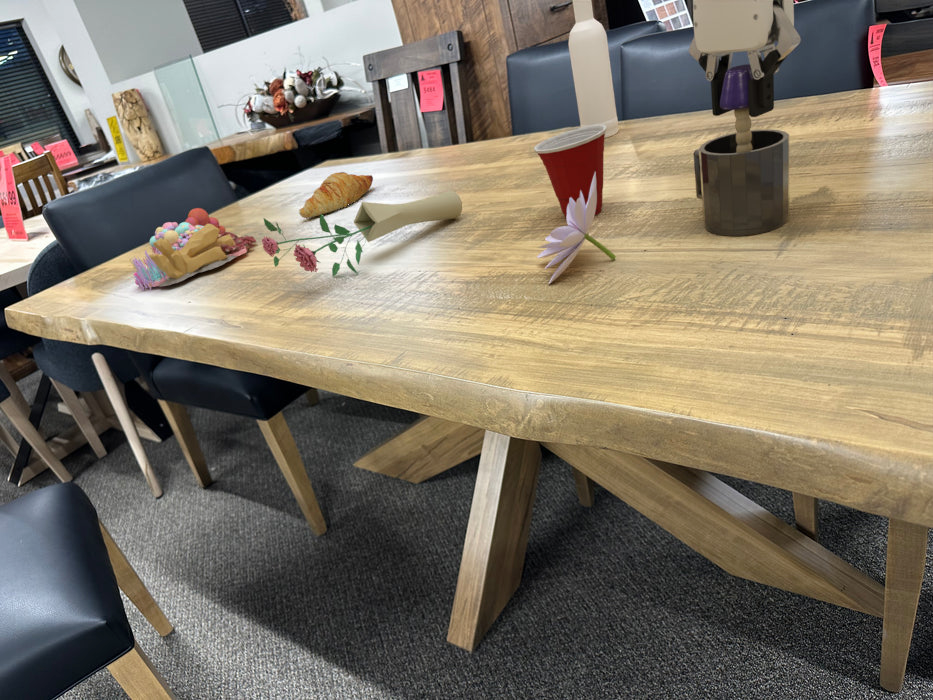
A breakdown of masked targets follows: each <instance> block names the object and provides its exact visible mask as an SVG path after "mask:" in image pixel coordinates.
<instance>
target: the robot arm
mask: <svg viewBox="0 0 933 700" xmlns="http://www.w3.org/2000/svg"><path fill="white" fill-rule="evenodd" d="M794 9H795V5H794V0H692V16H693V17H692V18H693V38H692V40H691V43H690V45H689V47H688V53H689V55H690V56H691V57H692V58H693V59H694V60H695V61H696V62H698V65H699V66H700V67H701V69H702V70H703V71H704V72H705V79H706V80H707V81H708V82H710V91H711V92H710V93H711V110H712V115H713V116H715V117H719V116H721V115H724V114H726V113H729V112H732V111H733V110H724V109H722V108H721V107H720V99H721V94H722V88H723V83H724V78H725V74H726V72H727V70H728V69H730V68H732V65H733V64H732V63H733V58H734V57H733V56H734V53H739V52H741V53H742V52H746V54H747V57H748V63H749V64H750V67H751V71H752V75H753V78H754V79H752V80H749V83H748V95H749V115H750V116H749V117H750V118H758V117H760V116H762V115H765V114H767V113H769V112H772V111H773V110H774V108H775V77H774V76H775V74H776V73H778V72H779V71H780V66H781V65H782V64H783V63H784V61H785V60H786V58H787V57H788V55H790V54H791V52H792V51H794V49H795V48H797V47H798V46H799V45H800V43H801V41H802V38H801V35H800V34H799V32H798V31H797V29H796V28H795V12H794V11H795V10H794ZM776 42H777V45H776ZM762 54H763V58H764V59H763V58H762Z"/></svg>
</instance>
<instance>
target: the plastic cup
mask: <svg viewBox="0 0 933 700" xmlns="http://www.w3.org/2000/svg"><path fill="white" fill-rule="evenodd" d="M606 127H607V126H604V125H592V126H587V127H582V128H581V127H578V128H574V129H571V130H568V131H565V132H561V133H558V134H556V135H554V136H551V137H549V138H547V139H544V140H542V141H541V142H539V143H538V144H536V145H535V146H534V148H533V151H534V153H536V154H537V155H538V156H539V158H540V160H541V161H542V164H543V166H544V167H545V170H546V172H547V176H548V178H549V181H550V183H551V186H552V188H553V191H554V194H555V197H556V198H557V201H558V203H559V206H560V209H561V212H562V214H563V215H564V218H566V216H567V206H568V204H569V199H570V197H571V198H572V199H573V200H574V201H575V202H576V201H577V199H578V198H579V197H580V190H581V192H582V194H583V197H584V200H585V205H586V204H587V201H588V198H589V192H590V187H591V183H592V179H593V176H594V173H595V172H596V190H597V204H596V211H595V215H594V216H596V215H598V214H600V213H601V212H602V209H603V208H602V207H603V194H604V193H603V189H604V157H605V156H604V151H605V138H604V136H605V132H606Z"/></svg>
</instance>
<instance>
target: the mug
mask: <svg viewBox="0 0 933 700" xmlns="http://www.w3.org/2000/svg"><path fill="white" fill-rule="evenodd" d="M750 131H751V133H752V139H751V144H752V151H747V152H740V153H737V152H736V149H737V145H738V144H737V142H736V134H737V132H731V133H728V134H724V135H721V136H717V137H714V138H712V139H709V140H707V141H706V142H704V143H702V144H701V145H700V146H699V148H696V149H695V150H694V151H693V155H692V156H693V166H694V168H693V169H694V183H695V195H696V198H697V199H698V200H701V202H702V203H701V205H702V216H703V217H702V218H703V227H704V229H705V230H706V231H707V232H709V233H711V234H714V235H719V236H725V237H746V236H747V237H748V236H754V235H759V234H763V233H764V234H765V233H768V232H771V231H773V230H776V229H778V228H780V227H782V226H784V225H785V224H786V223H787V222H788V221H789V218H790V134H789V133H788V132H786V131H785V130H781V129H768V128H767V129H766V128H765V129H750Z"/></svg>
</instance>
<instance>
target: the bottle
mask: <svg viewBox="0 0 933 700" xmlns="http://www.w3.org/2000/svg"><path fill="white" fill-rule="evenodd" d="M572 7H573V13H574V20H575V23H574V24H573V27H572V28H571V30H570V32H569V36H568V51H569V57H570V63H571V71H572V77H573V84H574V89H575V90H574V91H575V97H576V103H577V104H576V105H577V110H578V117H579V123H580V125H579V126H580V127H579V128H582V127H587V126H592V125H604V126H607V127H606V132H605V136H604V139H607V138H610V137H613V136H615V135H617V134H618V132H619V130H620V129H619V120H618V115H617V114H618V113H617V107H616V98H615V92H614V84H613V75H612V68H611V67H612V66H611V59H610V52H609V51H610V50H609V44H608V43H609V42H608V36H607V32H606V30H605V28H604V25H603V24H602V23H601V22H599V20H597V19H595V18H594V11H593V3H592V0H572Z"/></svg>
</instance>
